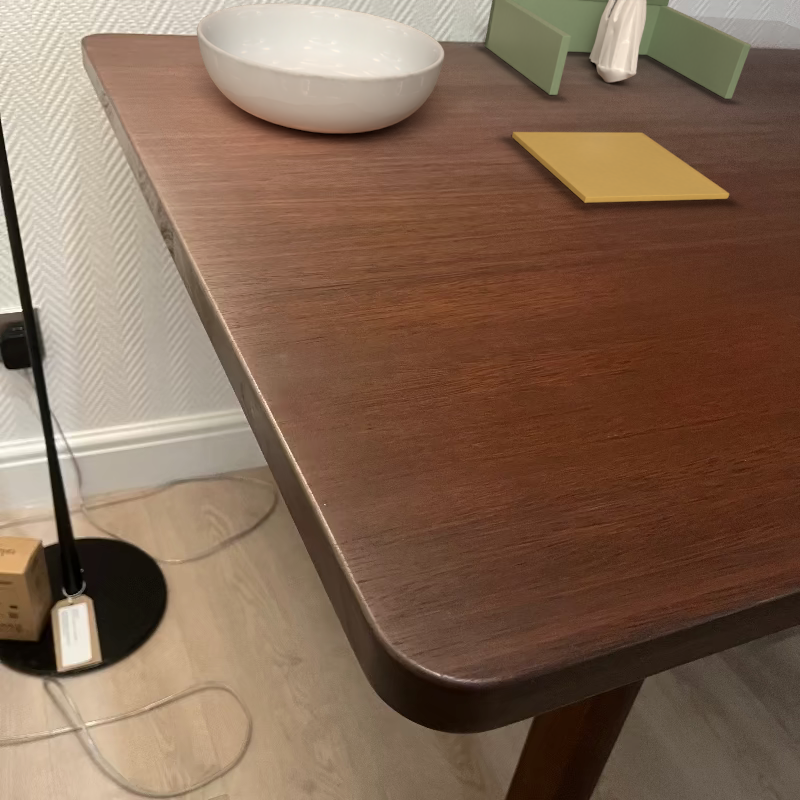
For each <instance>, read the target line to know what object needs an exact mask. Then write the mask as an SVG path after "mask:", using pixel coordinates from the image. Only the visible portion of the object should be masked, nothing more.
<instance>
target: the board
mask: <svg viewBox="0 0 800 800" xmlns="http://www.w3.org/2000/svg"><path fill="white" fill-rule="evenodd" d="M511 138H512V139H514V140H515V141H516V142H517V143H518V144H519V145H520V146H521V147H522V148H524V149H525V151H527V152H528V153H529V154H530V155H531V156H533V157H534V158H535V159H536V160H537V161H538V162H539V163H540V164H541V165H542V166H543V167H544V168H546V170H548V171H549V172H550V173H551V174H552V175H553V176H554V177H555V178H557V179H558V180H559V181H560V182H561V184H563V185H564V186H565V187H566V188H567V189H568V190H570V191H571V192H572V193H573V194H574V195H575V196H577V198H579V199H580V200H581V201H582V202H583V203H584V204H587V203H588V204H589V203H627V202H629V203H631V202H662V201H664V202H665V201H698V200H727V199H728V198H729V196H730V193H729V191H727V190H725V189H724V188H722V187H721V186H719V184H716V183H715V182H713V181H712V180H711V179H709V178H708V177H706V176H705V175H704V174H702V173H701V172H699V171H698V170H696V169H695V168H694V167H692V166H690V165H689V164H688V163H686V161H684V160H682V159H681V158H680V157H677V155H675V154H674V153H672V152H670V150H668V149H666V148H665V147H664V146H662V145H661V144H659V143H658V142H656V141H655V140H653V139H652V138H650V136H648V135H646V134H645V133H643V132H623V131H622V132H616V131H615V132H611V131H609V132H607V131H603V132H601V131H599V132H595V131H591V132H587V131H586V132H584V131H513V132H512V137H511Z"/></svg>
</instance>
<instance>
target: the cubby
mask: <svg viewBox="0 0 800 800" xmlns="http://www.w3.org/2000/svg"><path fill="white" fill-rule="evenodd" d="M608 1H609V0H491V5H490V10H489V16H488V22H487V23H488V24H487V27H486V28H487V29H486V32H485V33H486V34H485V38H484V43H483V44H484V47H485V48H486V49H488V50H489V51H490V52H492V53H493V54H494V55H496V56H497V57H498V58H500V60H502V61H504V62H505V63H506V64H508V66H510V67H512V68H513V69H514V70H516V71H517V72H518V73H520V75H522V76H524V77H525V78H527V80H529V81H530V82H532V84H534V85H536V86H537V87H538V88H539V89H541V90H543V92H544V93H546V94H547V95H548V96H558V94H559V89H560V85H561V82H562V76H563V73H564V68H565V65H566V61H567V56H568V52H570V53H591V52H592V49H593V46H594V44H595V40H596V36H597V32H598V28H599V24H600V20H601V17H602V14H603V12H604V10H605V8H606V5H607V3H608ZM669 3H670V0H646V21H645V26H644V30H643V34H642V38H641V42H640V46H639V52H638V55H640V56H641V55H643V56H648V57H650V58H652V59H654V60H655V61H656V62H659V63H660V64H662V65H664V66H666V67H667V68H670V69H671V70H673V71H675V72H676V73H678V74H680V75H682V76H684V77H685V78H687V79H689V80H691V81H692V82H694V83H696V84H698V85H700V87H701V86H702V87H703V88H705V89H706V90H708V91H711V92H712V93H715V94H716V95H717V96H719V97H721V98H723V99H725V100H732V98H733V96H734V93H735V90H736V88H737V85H738V82H739V79H740V77H741V75H742V71H743V69H744V65H745V63H746V60H747V57H748V55H749V53H750V50H751V47H752V44H751V43H748V42H746V41H744V40H742V39H740V38H737V37H735V36H733V35H731V34H729V33H727V32H725V31H722V30H720V29H718V28H716V27H713V26H712V25H709V24H707V23H705V22H703V21H702V20H701V21H700V19H699V20H698V19H696V18H694V17H692V16H690V15H688V14H686V13H683V12H681V11H679V10H677V9H675V8H672V7H670V6H669Z"/></svg>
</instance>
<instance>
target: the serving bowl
mask: <svg viewBox="0 0 800 800" xmlns="http://www.w3.org/2000/svg"><path fill="white" fill-rule="evenodd" d="M196 37H197V43H198V47H199V51H200V56H201V60H202V62H203V65H204V67H205V70H206V72H207V74H208V76H209V78H210V79H211V80H212V82H213V84H214V85H215V86H216V87H217V89H218V90H219V91H220V92H221V93H222V94H223V96H224V97H226V98H227V99H228V100H229V101H230V102H231V103H233V104H234V105H235V106H237V108H240V109H241V110H242V111H245V112H246V113H248V114H250V115H253V116H254V117H257V118H259V119H261V120H264V121H266V122H268V123H271V124H275V125H279V126H283V127H286V128H291V129H295V130H301V131H305V132H309V133H315V134H356V133H357V134H359V133H365V132H366V133H367V132H371V131H377V130H381V129H384V128H387V127H391V126H394V125H395V124H398V123H400V122H402V121H404V120H405V119H407V118H409V117H411V116H412V115H413V114H414V113H416V112H417V111H418V110H419V109H420V108H421V107H422V106H423V105H424V104H425V102H426V101H427V100H428V99H429V98H430V96H431V94H433V91H434V89H435V87H436V85H437V83H438V81H439V77H440V75H441V72H442V69H443V64H444V60H445V50H444V48H443V45H441V43H440V42H439V41H438V40H436V39H435V38H434V37H432V36H431V35H430V34H428V33H426V32H424V31H423V30H420V29H418V28H416V27H414V26H411V25H409V24H406V23H403V22H401V21H397V20H395V19H392V18H387V17H385V16H381V15H376V14H371V13H367V12H364V11H358V10H353V9H347V8H340V7H333V6H326V5H317V4H307V3H306V4H305V3H289V2H288V3H285V2H284V3H283V2H282V3H281V2H280V3H279V2H276V3H275V2H274V3H273V2H271V3H270V2H269V3H267V2H266V3H252V4H243V5H235V6H230V7H227V8H221V9H218V10H216V11H214V12H211V13H209V14H207V15H205V16H204V17H203V18H202V19H201V20H199V22H198V23H197V26H196Z"/></svg>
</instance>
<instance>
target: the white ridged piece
mask: <svg viewBox="0 0 800 800" xmlns="http://www.w3.org/2000/svg"><path fill="white" fill-rule="evenodd" d="M645 21H646V0H609V1H608V3H607V5H606V8H605V10H604V12H603V14H602V17H601V20H600V24H599V28H598V32H597V36H596V40H595V44H594V46H593V49H592V52H590V55H589V58H588V59H589V60H590V62H592V63H594V64H595V66H596V71H597V75H599V76H600V77H601V78H602V79H603V81H604V82H605V83H616V82H620V81H624V80H627V79H630V78H632V77H635V76H636V75H637V70H638V59H639V54H638V52H639V46H640V42H641V38H642V34H643V30H644V26H645Z"/></svg>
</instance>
